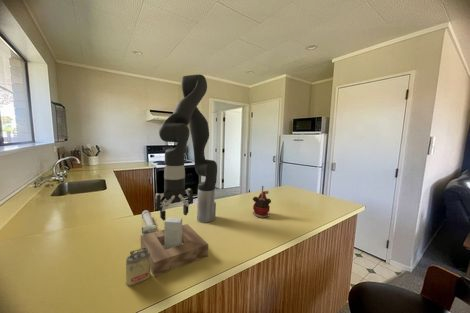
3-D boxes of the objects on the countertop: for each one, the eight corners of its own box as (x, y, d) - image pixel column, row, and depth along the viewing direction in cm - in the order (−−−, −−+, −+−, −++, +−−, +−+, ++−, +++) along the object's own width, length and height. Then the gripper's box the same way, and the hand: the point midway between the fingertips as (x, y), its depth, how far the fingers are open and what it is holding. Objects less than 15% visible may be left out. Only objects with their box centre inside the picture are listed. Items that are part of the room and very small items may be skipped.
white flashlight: (149, 217, 109) (159, 236, 88) (136, 219, 105) (143, 240, 84) (149, 208, 108) (159, 225, 87) (136, 210, 105) (143, 228, 84)
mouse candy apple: (250, 216, 115) (252, 186, 113) (254, 211, 124) (255, 183, 122) (268, 219, 111) (270, 189, 109) (270, 213, 120) (273, 185, 118)
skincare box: (182, 245, 80) (182, 217, 78) (179, 252, 76) (180, 222, 74) (167, 245, 80) (167, 217, 78) (163, 251, 75) (164, 222, 74)
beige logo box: (127, 287, 59) (126, 256, 58) (124, 280, 62) (124, 250, 61) (151, 277, 63) (151, 248, 62) (148, 271, 66) (148, 243, 65)
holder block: (187, 234, 92) (187, 223, 91) (207, 256, 76) (208, 244, 75) (140, 247, 80) (140, 235, 79) (153, 276, 64) (153, 262, 63)
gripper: (188, 172, 81) (187, 210, 83) (152, 176, 73) (152, 217, 75) (196, 176, 75) (195, 216, 77) (158, 180, 67) (158, 225, 69)
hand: (174, 217), depth 76 cm, fingers open, 8 cm apart
